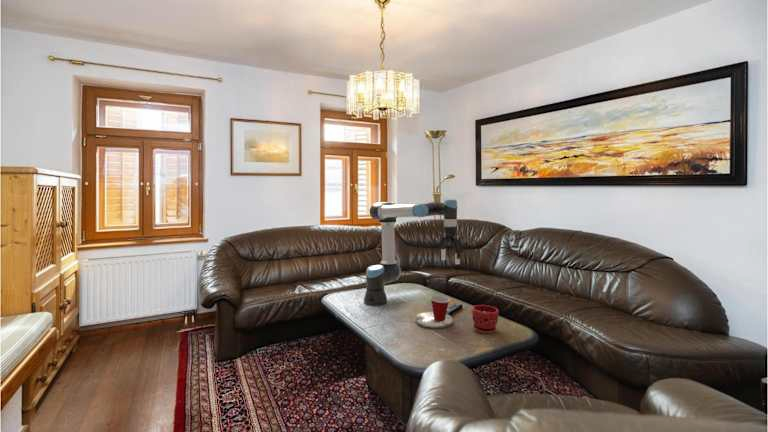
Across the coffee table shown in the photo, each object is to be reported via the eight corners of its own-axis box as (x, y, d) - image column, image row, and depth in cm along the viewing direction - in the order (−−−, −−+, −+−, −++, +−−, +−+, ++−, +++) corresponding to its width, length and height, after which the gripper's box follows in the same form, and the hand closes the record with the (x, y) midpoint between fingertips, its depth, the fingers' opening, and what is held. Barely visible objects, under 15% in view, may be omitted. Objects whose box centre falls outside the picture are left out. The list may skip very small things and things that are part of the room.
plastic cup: (449, 324, 196) (449, 301, 194) (428, 322, 198) (428, 300, 197) (451, 316, 206) (451, 295, 205) (431, 315, 209) (431, 294, 208)
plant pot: (494, 337, 184) (494, 314, 183) (468, 332, 191) (468, 309, 190) (501, 328, 195) (501, 306, 194) (476, 324, 202) (476, 302, 201)
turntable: (409, 318, 209) (409, 315, 209) (438, 312, 218) (438, 309, 218) (428, 330, 191) (428, 327, 191) (459, 323, 200) (459, 320, 200)
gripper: (469, 227, 206) (469, 265, 208) (443, 223, 228) (442, 257, 230) (458, 228, 202) (458, 266, 204) (432, 224, 225) (432, 258, 226)
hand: (450, 262), depth 217 cm, fingers open, 13 cm apart
